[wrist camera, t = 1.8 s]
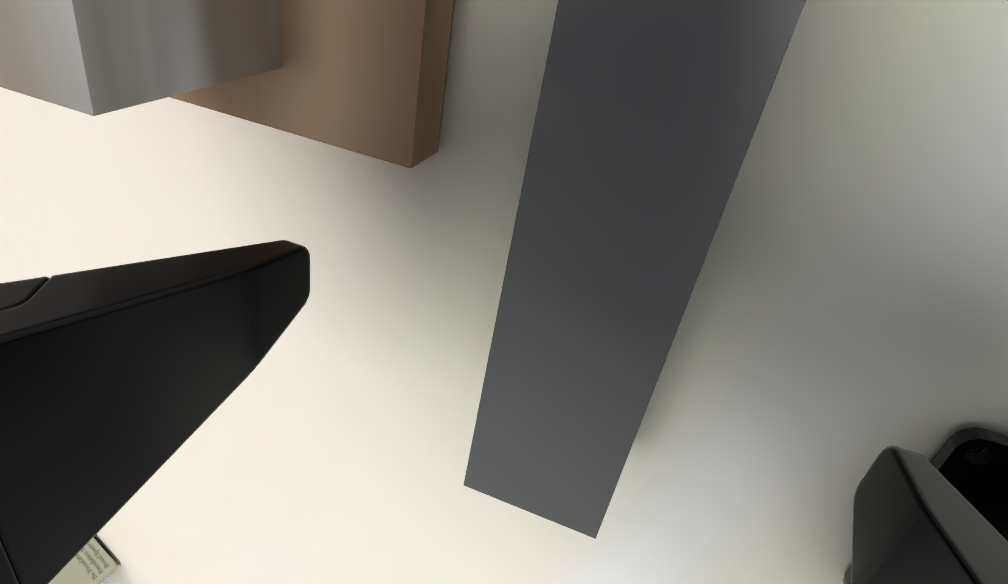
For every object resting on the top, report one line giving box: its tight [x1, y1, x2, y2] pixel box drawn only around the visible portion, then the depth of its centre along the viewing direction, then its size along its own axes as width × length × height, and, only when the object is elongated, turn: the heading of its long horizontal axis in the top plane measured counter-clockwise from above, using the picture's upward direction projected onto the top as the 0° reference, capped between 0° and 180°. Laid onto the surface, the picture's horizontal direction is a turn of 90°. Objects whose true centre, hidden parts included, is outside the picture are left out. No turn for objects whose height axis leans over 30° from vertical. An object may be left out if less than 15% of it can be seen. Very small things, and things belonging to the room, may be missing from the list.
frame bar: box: [464, 0, 806, 539], centre depth 13 cm, size 4×14×4 cm, turn 171°
